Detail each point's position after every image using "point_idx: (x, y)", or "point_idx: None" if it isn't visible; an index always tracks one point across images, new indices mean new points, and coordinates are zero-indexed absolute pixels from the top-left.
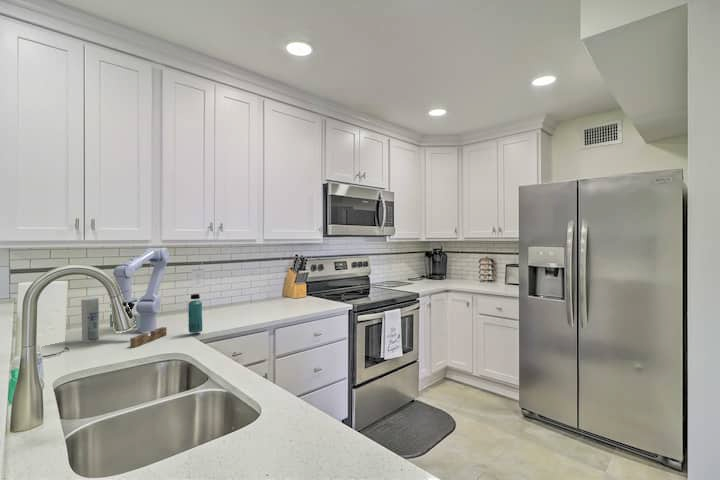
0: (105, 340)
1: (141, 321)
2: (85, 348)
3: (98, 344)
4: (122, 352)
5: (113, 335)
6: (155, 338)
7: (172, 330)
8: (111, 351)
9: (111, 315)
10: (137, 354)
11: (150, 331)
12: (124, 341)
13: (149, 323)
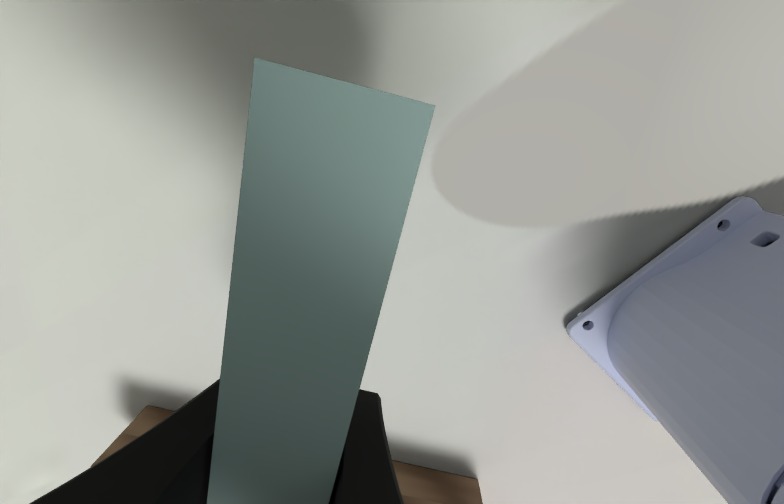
0: (364, 52)
1: (716, 366)
2: (65, 22)
3: (210, 74)
4: (36, 407)
5: (595, 7)
6: None
7: (626, 498)
8: (38, 326)
9: (259, 138)
10: (23, 500)
11: (608, 373)
12: None
13: (666, 429)
